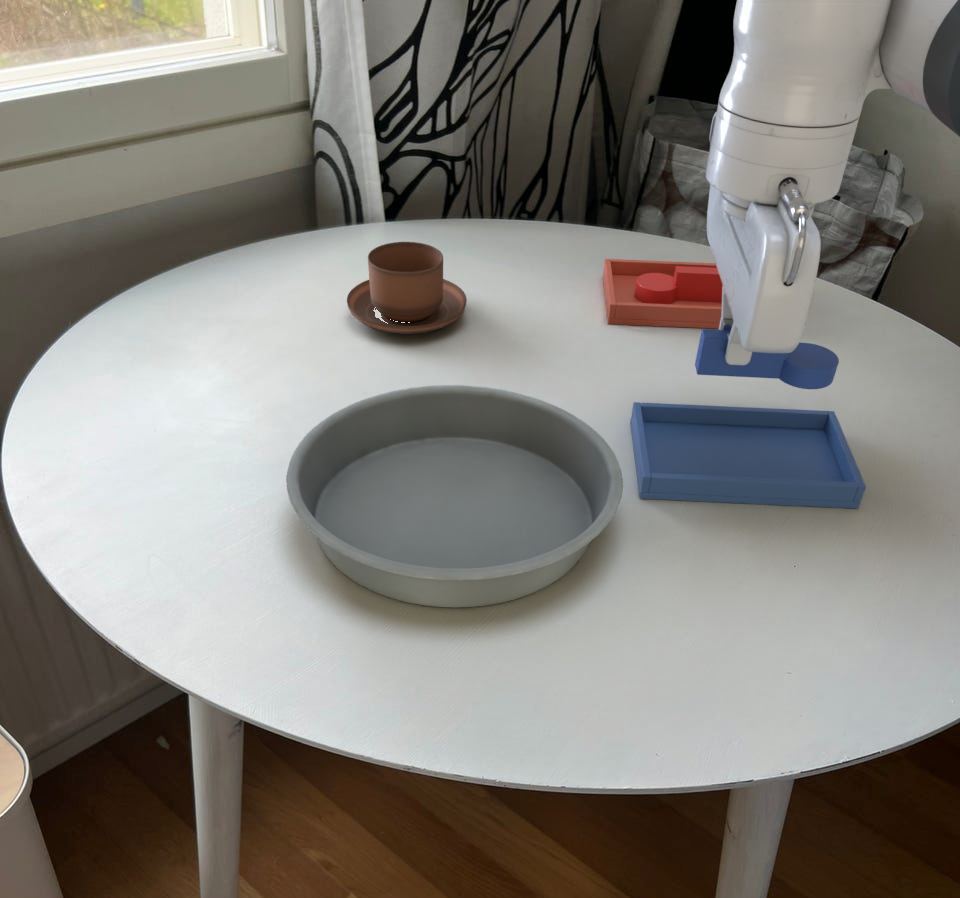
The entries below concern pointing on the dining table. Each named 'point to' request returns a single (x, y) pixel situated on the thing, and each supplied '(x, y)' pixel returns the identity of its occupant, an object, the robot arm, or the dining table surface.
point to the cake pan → (454, 493)
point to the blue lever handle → (769, 362)
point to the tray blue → (743, 456)
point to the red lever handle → (680, 286)
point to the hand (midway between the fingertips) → (732, 350)
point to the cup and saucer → (406, 290)
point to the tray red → (634, 312)
